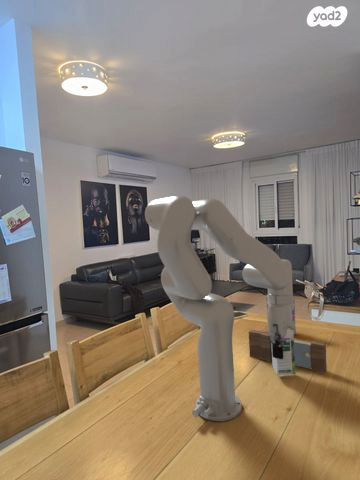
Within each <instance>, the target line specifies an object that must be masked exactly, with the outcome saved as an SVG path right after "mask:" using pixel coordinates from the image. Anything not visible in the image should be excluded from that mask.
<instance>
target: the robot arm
mask: <svg viewBox="0 0 360 480" xmlns="http://www.w3.org/2000/svg"><path fill="white" fill-rule="evenodd" d="M144 210H145V211H144V220H145V221H146V224H148V226H149V227H150V228H152V229H153V230H156V231H158V235H157V236H158V237H157V243H156V244H157V245H156V246H157V253H158V255H159V258H160V261H161V262H162V264H163V266H164V267H163V268H162V270H161V275H160V280H161V281H160V283H161V286H162V288H163V290H164V292H165V293H166V295H167V297H168V298H169V300H170V301H171V302H172V304H173V305H174V307H175V308H176V310H177V311H178V313H179V314H180V315H181V316H182V318H183V319H185V320H187V321H188V322H190V323H192V324H195V325H197V326H198V327H200V333H199V337H198V339H197V343H196V344H197V359H198V374H199V375H198V377H199V390H200V391H199V392H200V396H199V397H198V398H197V399H196V401H195V408H194V409H192V410H191V411H192V413H191V414H192V416H193V417H194V418H198V417H199V416H201V417H202V418H204V419H206V420H208V421H213V422H226V421H229V420H233V419H234V418H236V417H237V416H239V415H240V413H241V411H242V401H241V399H240V398H239V397H238V396H237V395H236V388H235V385H236V384H235V371H234V370H235V367H234V352H233V350H234V349H233V348H234V347H233V330H234V322H235V310H234V306H233V304H232V303H231V302H230V301H229V300H228V299H227V298H225V297H223V296H221V295H218V294H216V293H211V291H212V289H213V288H212V285H213V283H212V278H211V276H210V274H209V273H208V271H207V269H206V268H205V266H204V264H203V262H202V260H201V259H200V257H199V256H198V254H197V253H196V250H195V248H194V247H193V244H192V242H191V241H192V240H191V234H192V231H204V232H205V233H206V235H207V236H208V237H209V238H211V240H212V241H213V242H214V243H215V244H216V246H217V247H219V249H220V250H221V251H222V253H224V254H225V255H226V256H228V257H230V258H232V259H234V260H236V261H239V262H241V263H244V264H246V265H244V267H243V269H242V273H241V276H242V279H243V280H244V282H245V283H246V284H248V285H249V286H252V287H256V288H261V289H262V288H263V289H267V295H268V304H270V305H269V310H268V315H267V332H268V335H269V336H270V339H271V343H272V354H273V357H274V358H278V359H283V346H282V339H283V337H285V336H286V333H287V329H288V328H289V327H290V326H291V328H293V317H292V307H291V305H292V304H293V297H294V293H293V266H292V265H293V264H292V263H291V261H290V260H289V259H284V258H280V256H279V255H278V254H277V253H276V252H275V251H274V250H273V249H272V248H270V247H269V246H267V245H266V244H264V243H262V242H261V241H259V240H258V239H257V238H256V237H253V236H252V235H250V234H249V233H248V232H247V231H246V230H245V229H244V228H243V226H242V225H241V224H240V222H239V221H238V220H237V219H236V217H235V216H234V215H233V214H232V213H231V211H230V210H229V208H227V206H226V205H225V203H223V202H222V201H221V200H220V199H216V198H205V199H204V198H203V199H196V200H191V199H190V198H189V197H187V196H184V195H173V196H172V195H171V196H167V197H162V198H157V199H154V200H151V201H150V202H149V203H148V204H147V206H146V207H145V209H144ZM277 332H278V333H279V334H281V335H280V336H277ZM276 338H280V339H279V341H278V340H276Z"/></svg>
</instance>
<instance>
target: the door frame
mask: <svg viewBox="0 0 360 480" xmlns="http://www.w3.org/2000/svg"><path fill="white" fill-rule="evenodd" d="M310 344H311V363H312V368H311V372H315V373H319V374H322V375H326V373H327V369H328V368H327V367H328V366H327V343H326V342H323V341H318V340H312V341H310ZM248 345H249V347H248V348H249V357H252V358H257V359H260V360H262V361H265V362H269V363H270V362H272V346H271V339H270V336H269V335H268V331H265V330H264V331H260V330H255V329H250V330H248Z"/></svg>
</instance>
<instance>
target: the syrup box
mask: <svg viewBox="0 0 360 480" xmlns="http://www.w3.org/2000/svg"><path fill="white" fill-rule="evenodd" d="M280 335H281V334H279V333H278V332H277V336H280ZM294 337H295V336H294V334H293V329H292V328H291V326H290V327H289V328H288V329H287V333H286V336H285V337H283V339H282V346H283V359H278V358H274V357H273V354H272V360H271V363H272V368H273V369H274V371H275V373H276V375H277V376H280V375H295V374H296V365H295V355H294V341H295V338H294ZM279 339H280V338H276V340H278V341H279ZM271 346H272V343H271Z"/></svg>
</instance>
